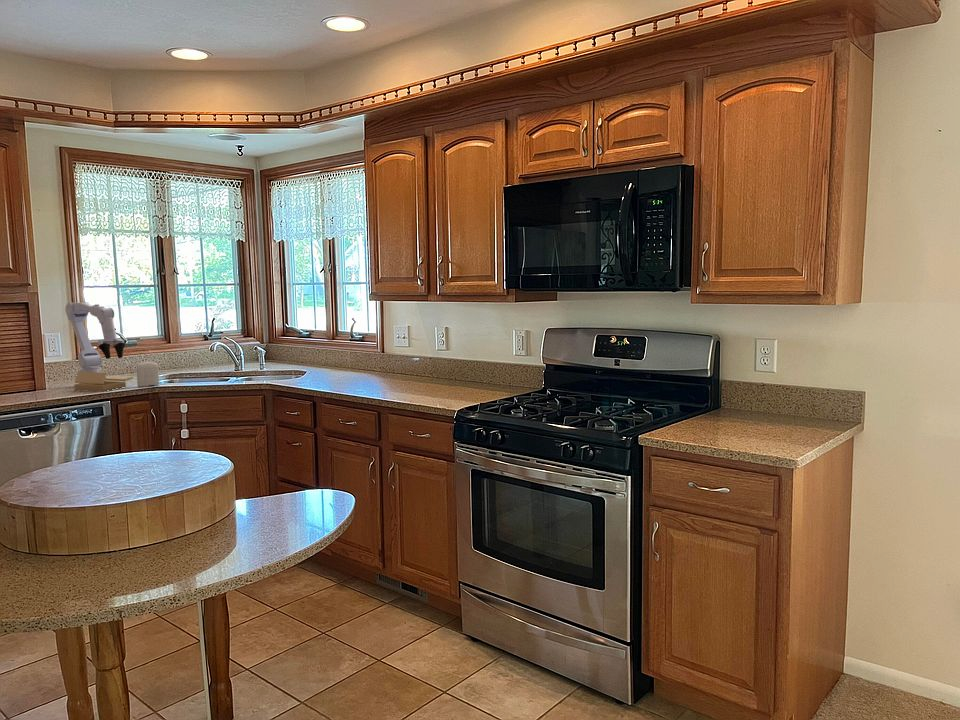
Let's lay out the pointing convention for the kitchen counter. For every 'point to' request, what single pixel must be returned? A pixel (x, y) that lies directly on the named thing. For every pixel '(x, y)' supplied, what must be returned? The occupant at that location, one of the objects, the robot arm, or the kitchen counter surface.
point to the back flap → (118, 378)
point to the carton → (100, 386)
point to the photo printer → (147, 374)
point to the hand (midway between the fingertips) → (114, 358)
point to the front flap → (90, 377)
